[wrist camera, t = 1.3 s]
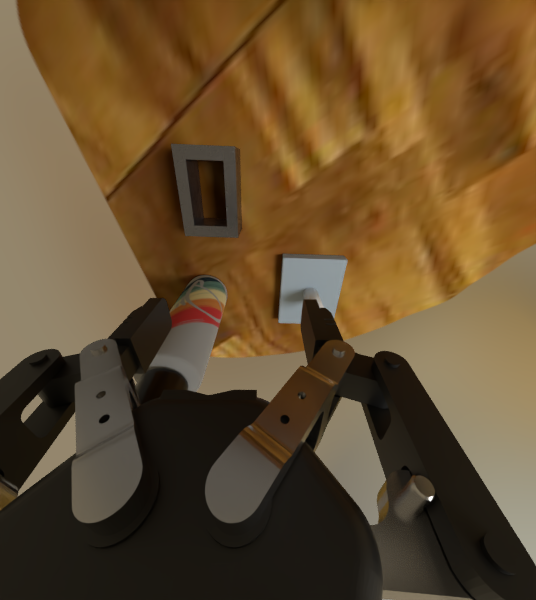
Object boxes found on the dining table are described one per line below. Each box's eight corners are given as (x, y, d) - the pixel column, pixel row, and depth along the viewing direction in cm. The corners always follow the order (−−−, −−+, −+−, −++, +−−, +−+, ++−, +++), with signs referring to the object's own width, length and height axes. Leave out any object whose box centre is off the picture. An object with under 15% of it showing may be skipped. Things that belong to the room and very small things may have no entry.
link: (185, 147, 23) (171, 143, 19) (239, 149, 23) (235, 146, 20) (195, 227, 27) (185, 235, 24) (241, 228, 27) (238, 237, 24)
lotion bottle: (220, 270, 30) (157, 409, 13) (233, 304, 33) (195, 456, 16) (181, 278, 31) (70, 422, 13) (196, 312, 33) (122, 465, 16)
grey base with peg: (282, 253, 29) (287, 281, 22) (343, 255, 29) (367, 283, 22) (278, 316, 34) (280, 355, 27) (330, 318, 34) (346, 356, 27)
